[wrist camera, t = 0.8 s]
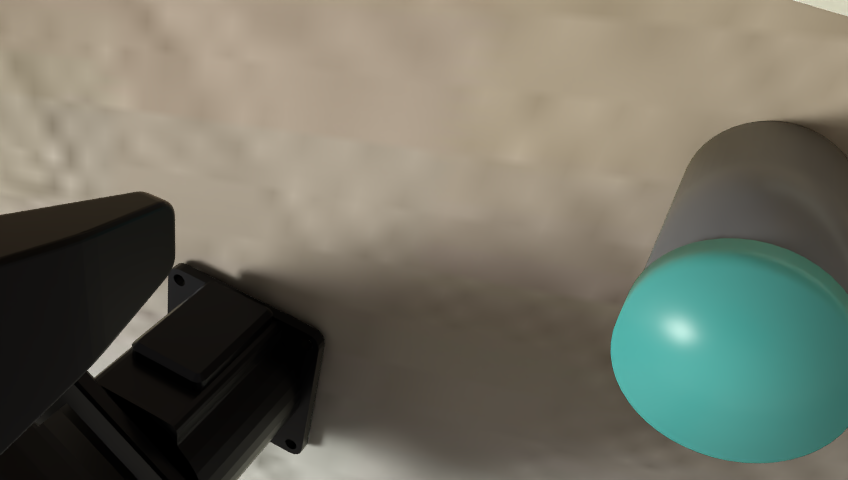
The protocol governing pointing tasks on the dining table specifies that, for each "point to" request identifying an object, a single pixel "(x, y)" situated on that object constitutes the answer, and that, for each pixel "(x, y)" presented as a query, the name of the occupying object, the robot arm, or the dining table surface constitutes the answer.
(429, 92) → the dining table surface
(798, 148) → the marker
